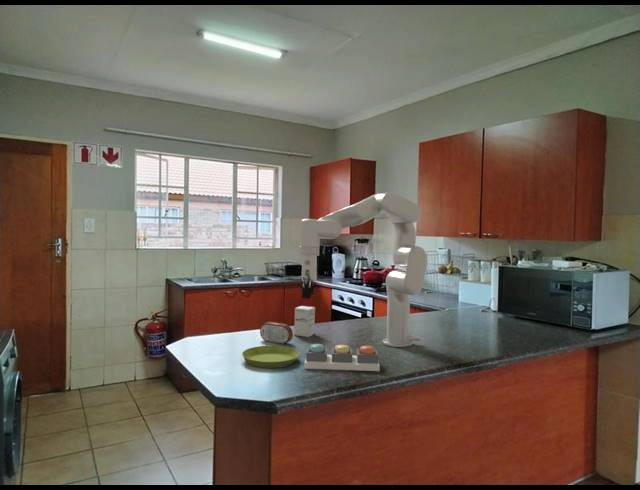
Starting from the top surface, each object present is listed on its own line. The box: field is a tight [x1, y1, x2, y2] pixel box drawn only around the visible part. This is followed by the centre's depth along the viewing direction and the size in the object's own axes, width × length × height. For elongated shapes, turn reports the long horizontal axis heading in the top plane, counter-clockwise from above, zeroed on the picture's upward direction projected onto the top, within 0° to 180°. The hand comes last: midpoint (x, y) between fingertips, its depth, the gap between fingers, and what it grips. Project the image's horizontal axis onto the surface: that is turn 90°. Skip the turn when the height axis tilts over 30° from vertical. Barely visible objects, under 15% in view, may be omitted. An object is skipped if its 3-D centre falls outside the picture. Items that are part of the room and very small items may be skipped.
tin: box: [259, 321, 294, 345], centre depth 186 cm, size 15×3×8 cm, turn 65°
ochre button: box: [334, 344, 350, 354], centre depth 156 cm, size 5×5×3 cm
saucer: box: [241, 345, 300, 369], centre depth 160 cm, size 21×21×3 cm
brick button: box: [359, 345, 375, 354], centre depth 156 cm, size 5×5×3 cm
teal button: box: [309, 343, 325, 353], centre depth 157 cm, size 5×5×3 cm
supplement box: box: [293, 305, 316, 338], centre depth 200 cm, size 7×7×13 cm
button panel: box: [303, 346, 381, 372], centre depth 156 cm, size 26×11×5 cm, turn 87°
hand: (307, 296), depth 167 cm, fingers open, 9 cm apart
